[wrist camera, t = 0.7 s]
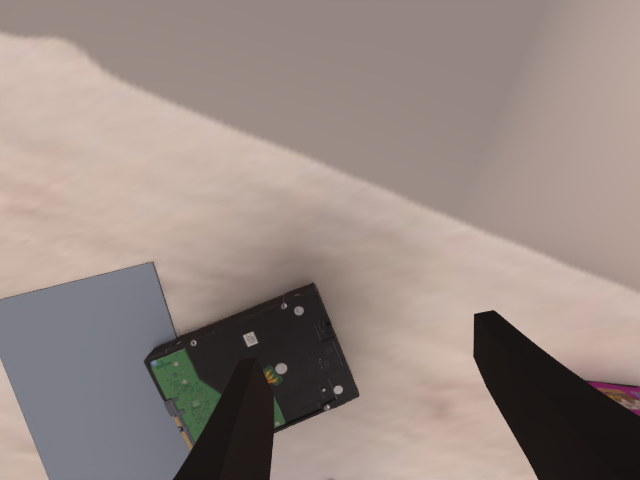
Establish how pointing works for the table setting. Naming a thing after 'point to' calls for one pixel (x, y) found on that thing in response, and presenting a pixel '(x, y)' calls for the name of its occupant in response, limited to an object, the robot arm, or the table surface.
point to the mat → (93, 376)
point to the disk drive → (273, 355)
